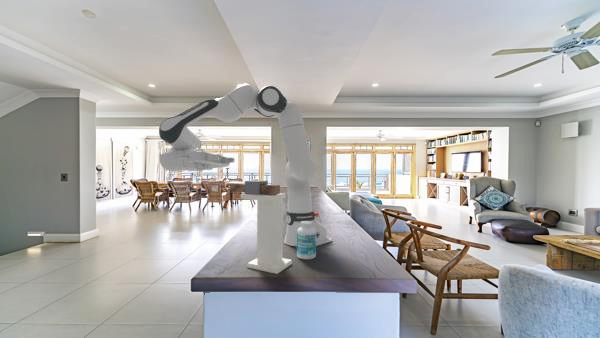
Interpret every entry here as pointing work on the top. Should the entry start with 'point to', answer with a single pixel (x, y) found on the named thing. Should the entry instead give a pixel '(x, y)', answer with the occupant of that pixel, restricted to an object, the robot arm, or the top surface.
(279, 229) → the post
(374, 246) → the top surface
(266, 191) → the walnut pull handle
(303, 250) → the pill bottle
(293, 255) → the top surface
